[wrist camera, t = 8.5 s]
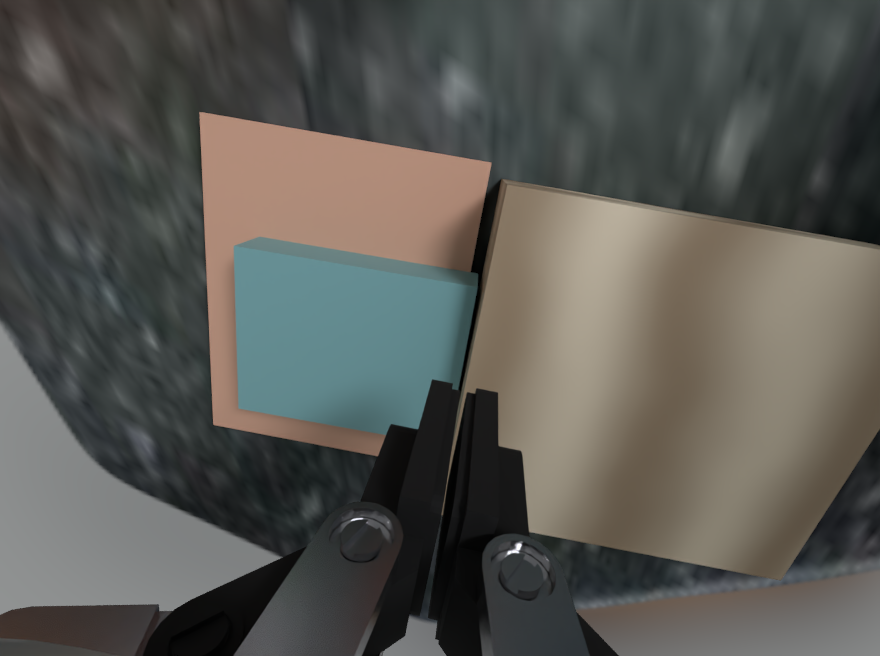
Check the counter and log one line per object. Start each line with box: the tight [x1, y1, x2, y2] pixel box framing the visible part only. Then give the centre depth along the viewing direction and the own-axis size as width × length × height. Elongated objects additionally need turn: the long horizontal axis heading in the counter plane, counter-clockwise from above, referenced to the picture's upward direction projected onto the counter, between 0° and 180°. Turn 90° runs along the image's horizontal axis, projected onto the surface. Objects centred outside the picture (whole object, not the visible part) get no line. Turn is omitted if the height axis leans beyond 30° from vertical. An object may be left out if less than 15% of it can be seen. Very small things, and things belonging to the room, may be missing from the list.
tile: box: [234, 237, 478, 435], centre depth 18 cm, size 9×7×2 cm
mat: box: [200, 112, 491, 456], centre depth 19 cm, size 11×14×1 cm
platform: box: [441, 179, 880, 580], centre depth 17 cm, size 14×13×4 cm
